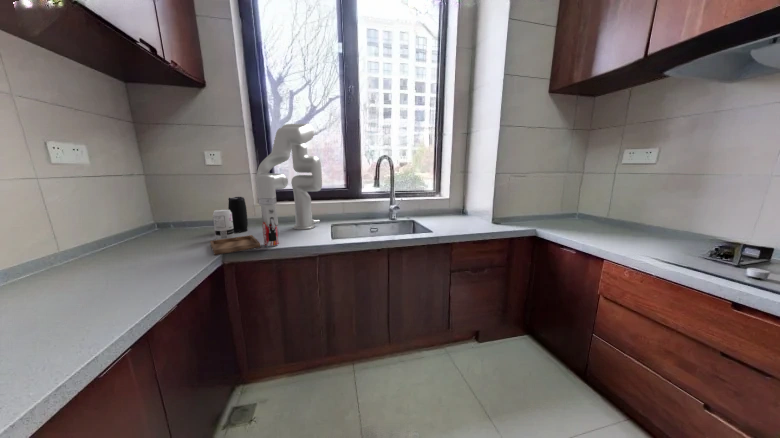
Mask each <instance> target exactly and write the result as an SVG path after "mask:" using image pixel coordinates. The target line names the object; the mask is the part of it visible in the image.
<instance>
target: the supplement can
mask: <svg viewBox="0 0 780 438" xmlns="http://www.w3.org/2000/svg"><path fill="white" fill-rule="evenodd" d="M212 218H213V219H212V220H213V228H214V234H215V240H221V239H228V238H235V237H236V236H235V233H234V228H233V219H232V213H231V211H230V210H228V208H227V209H216V210H213V213H212Z"/></svg>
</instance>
